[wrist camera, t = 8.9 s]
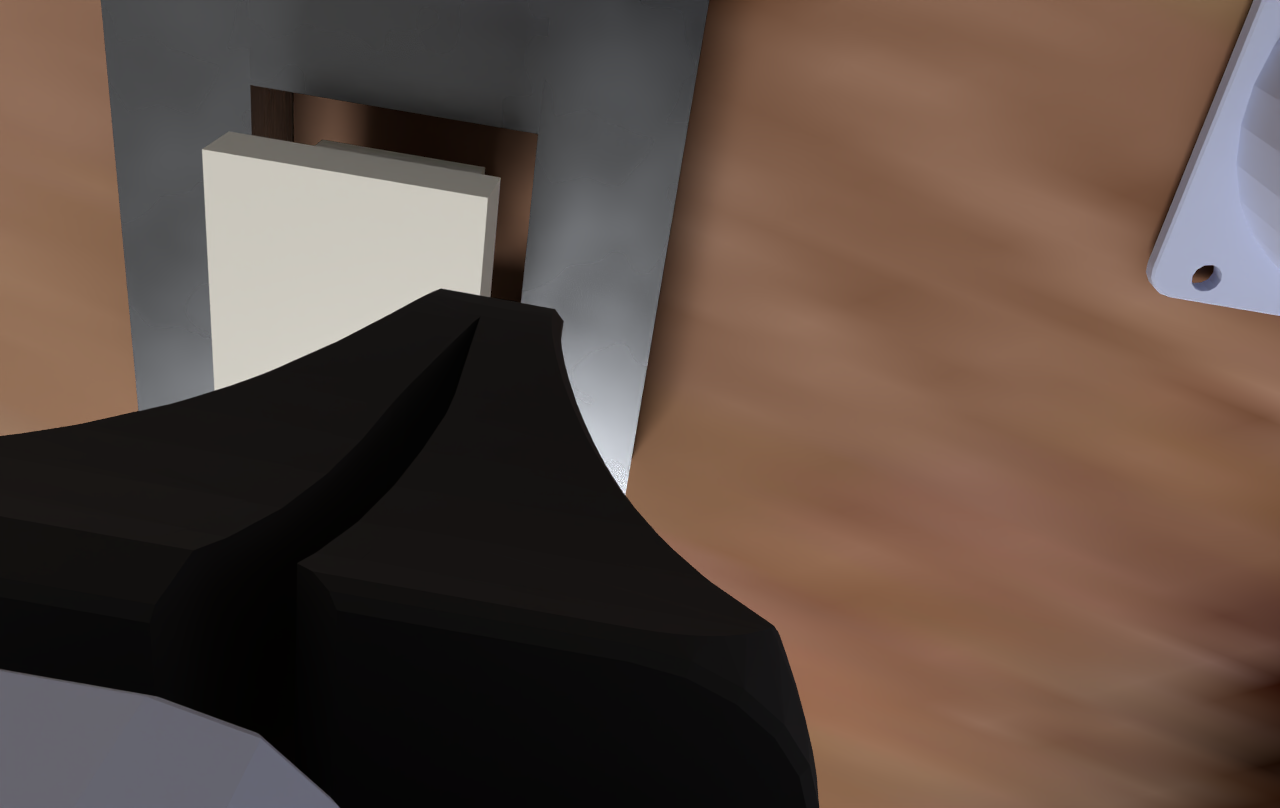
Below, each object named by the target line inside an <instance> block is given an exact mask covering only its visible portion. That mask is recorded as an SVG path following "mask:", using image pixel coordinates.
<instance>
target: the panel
mask: <svg viewBox="0 0 1280 808" xmlns="http://www.w3.org/2000/svg"><path fill="white" fill-rule="evenodd" d="M708 5H709V0H101V7H102V18H103V29H104V40H105V51H106V62H107V73H108V84H109V94H110V105H111V116H112V127H113V138H114V149H115V160H116V171H117V181H118V192H119V203H120V214H121V225H122V236H123V247H124V258H125V268H126V279H127V290H128V301H129V312H130V323H131V334H132V345H133V355H134V366H135V377H136V388H137V399H138V410H139V411H141V410H145V409H150V408H154V407H159V406H163V405H168V404H171V403H175V402H179V401H182V400H186V399H189V398H193V397H196V396H199V395H202V394H205V393H208V392H212V391H214V372H213V352H212V333H211V314H210V295H209V275H208V256H207V237H206V217H205V198H204V179H203V159H202V149H203V148H205V147H206V146H208V145H209V144H211V143H212V142H214V141H215V140H217V139H218V138H220V137H221V136H223V135H224V134H226V133H227V132H229V131H230V132H236V133H242V134H248V135H253V136H259V137H265V138H271V139H277V140H283V141H289V142H293V99H292V92H294V93H300V94H306V95H312V96H318V97H324V98H330V99H335V100H341V101H347V102H353V103H359V104H365V105H371V106H377V107H383V108H388V109H394V110H400V111H406V112H412V113H418V114H424V115H430V116H435V117H441V118H447V119H453V120H459V121H465V122H471V123H477V124H483V125H488V126H494V127H500V128H506V129H512V130H518V131H524V132H530V133H536V134H538V141H537V151H536V160H535V170H534V180H533V190H532V200H531V210H530V219H529V229H528V239H527V249H526V259H525V268H524V278H523V288H522V298H521V303H525V304H530V305H536V306H541V307H547V308H552V309H555V310H556V311H557V312H558V314H559V315H560V317H561V318H562V319H563V321H564V324H563V330H562V337H561V344H562V351H563V356H564V362H565V366H566V370H567V374H568V377H569V380H570V383H571V387H572V390H573V393H574V396H575V399H576V402H577V405H578V407H579V410H580V412H581V415H582V417H583V420H584V422H585V424H586V426H587V429H588V431H589V433H590V435H591V437H592V440H593V442H594V444H595V446H596V448H597V450H598V451H599V453H600V455H601V457H602V459H603V461H604V462H605V464H606V466H607V468H608V469H609V471H610V473H611V474H612V476H613V477H614V479H615V480H616V482H617V484H618V485H619V487H620V488H621V490H622V491H623V493H624V494H626V488H627V482H628V477H629V471H630V465H631V459H632V453H633V447H634V442H635V436H636V430H637V424H638V418H639V412H640V406H641V400H642V394H643V388H644V383H645V377H646V371H647V365H648V359H649V353H650V347H651V341H652V335H653V330H654V324H655V318H656V312H657V306H658V300H659V294H660V288H661V282H662V276H663V271H664V265H665V259H666V253H667V247H668V241H669V235H670V229H671V223H672V217H673V212H674V206H675V200H676V194H677V188H678V182H679V176H680V170H681V164H682V159H683V153H684V147H685V141H686V135H687V129H688V123H689V117H690V111H691V105H692V100H693V94H694V88H695V82H696V76H697V70H698V64H699V58H700V52H701V46H702V41H703V35H704V29H705V23H706V17H707V11H708Z"/></svg>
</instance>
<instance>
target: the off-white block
mask: <svg viewBox="0 0 1280 808" xmlns="http://www.w3.org/2000/svg"><path fill="white" fill-rule="evenodd" d="M202 159H203V179H204V198H205V217H206V237H207V256H208V275H209V295H210V314H211V333H212V352H213V372H214V391H215V390H218V389H221V388H224V387H228V386H231V385H234V384H236V383H239V382H242V381H245V380H248V379H250V378H253V377H256V376H258V375H261V374H264V373H266V372H269V371H271V370H274V369H276V368H278V367H280V366H283V365H285V364H287V363H289V362H292V361H294V360H296V359H298V358H301V357H303V356H305V355H307V354H310V353H312V352H314V351H317V350H319V349H321V348H323V347H326V346H328V345H330V344H332V343H335V342H337V341H339V340H341V339H343V338H345V337H347V336H349V335H351V334H352V333H354V332H356V331H358V330H360V329H362V328H364V327H366V326H368V325H370V324H372V323H374V322H376V321H378V320H380V319H381V318H383V317H385V316H387V315H389V314H391V313H393V312H395V311H396V310H398V309H400V308H402V307H404V306H406V305H408V304H409V303H411V302H413V301H415V300H417V299H419V298H421V297H423V296H425V295H427V294H429V293H431V292H433V291H436V290H438V289H441V288H442V289H447V290H453V291H458V292H464V293H469V294H475V295H480V296H486V297H490V296H491V284H492V273H493V261H494V250H495V238H496V226H497V215H498V203H499V192H500V180H501V178H500V177H495V176H489V175H485V167H481V166H475V165H469V164H463V163H457V162H451V161H445V160H439V159H434V158H428V157H422V156H416V155H410V154H404V153H398V152H392V151H386V150H381V149H375V148H369V147H363V146H357V145H351V144H345V143H339V142H334V141H328V140H321V141H320V142H319V143H318V144H316V145H315V146H312V145H306V144H300V143H295V142H289V141H283V140H277V139H271V138H265V137H259V136H253V135H248V134H242V133H236V132H230V131H229V132H227V133H226V134H224V135H223V136H221V137H220V138H218V139H217V140H215V141H214V142H212V143H211V144H209V145H208V146H206V147H205V148H203V149H202Z"/></svg>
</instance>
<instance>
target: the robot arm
mask: <svg viewBox="0 0 1280 808" xmlns="http://www.w3.org/2000/svg"><path fill="white" fill-rule="evenodd" d="M1205 265H1214V270H1213V273H1212V275H1211V276H1210V277H1209V279H1207V280H1205V281H1203V282H1201V283H1192V276H1193V274H1194V273H1195V272H1196V270H1197V269H1199V268H1201V267H1203V266H1205ZM1146 273H1147V277H1148V280H1149V282H1150V283H1151V284H1152V285H1153V287H1154V288H1155V289H1156V290H1157V291H1158V292H1159V293H1160V294H1163V295H1165V296H1168V297H1172V298H1178V299H1184V300H1190V301H1196V302H1202V303H1207V304H1213V305H1219V306H1225V307H1231V308H1237V309H1243V310H1249V311H1254V312H1260V313H1266V314H1272V315H1278V316H1280V0H1253V3H1252V5H1251V8H1250V10H1249V13H1248V15H1247V18H1246V20H1245V23H1244V25H1243V28H1242V30H1241V33H1240V35H1239V38H1238V40H1237V43H1236V45H1235V48H1234V50H1233V52H1232V55H1231V57H1230V60H1229V62H1228V65H1227V67H1226V70H1225V72H1224V75H1223V77H1222V80H1221V82H1220V85H1219V87H1218V90H1217V92H1216V95H1215V97H1214V100H1213V102H1212V105H1211V107H1210V109H1209V112H1208V114H1207V117H1206V119H1205V122H1204V124H1203V127H1202V129H1201V132H1200V134H1199V137H1198V139H1197V142H1196V144H1195V147H1194V149H1193V152H1192V154H1191V157H1190V159H1189V162H1188V164H1187V166H1186V169H1185V171H1184V174H1183V176H1182V179H1181V181H1180V184H1179V186H1178V189H1177V191H1176V194H1175V196H1174V199H1173V201H1172V204H1171V206H1170V209H1169V211H1168V214H1167V216H1166V219H1165V221H1164V223H1163V226H1162V228H1161V231H1160V233H1159V236H1158V238H1157V241H1156V243H1155V246H1154V248H1153V251H1152V253H1151V256H1150V258H1149V261H1148V264H1147V270H1146ZM563 324H564V321H563V319H562V318H561V317H560V315H559V314H558V312H557V311H556V310H555V309H552V308H547V307H541V306H536V305H530V304H525V303H519V302H514V301H508V300H503V299H497V298H491V297H486V296H480V295H475V294H469V293H464V292H458V291H453V290H447V289H442V288H441V289H438V290H436V291H433V292H431V293H429V294H427V295H425V296H423V297H421V298H419V299H417V300H415V301H413V302H411V303H409V304H408V305H406V306H404V307H402V308H400V309H398V310H396V311H395V312H393V313H391V314H389V315H387V316H385V317H383V318H381V319H380V320H378V321H376V322H374V323H372V324H370V325H368V326H366V327H364V328H362V329H360V330H358V331H356V332H354V333H352V334H351V335H349V336H347V337H345V338H343V339H341V340H339V341H337V342H335V343H332V344H330V345H328V346H326V347H323V348H321V349H319V350H317V351H314V352H312V353H310V354H307V355H305V356H303V357H301V358H298V359H296V360H294V361H292V362H289V363H287V364H285V365H283V366H280V367H278V368H276V369H274V370H271V371H269V372H266V373H264V374H261V375H258V376H256V377H253V378H250V379H248V380H245V381H242V382H239V383H236V384H234V385H231V386H228V387H224V388H221V389H218V390H215V391H212V392H208V393H205V394H202V395H199V396H196V397H193V398H189V399H186V400H182V401H179V402H175V403H171V404H168V405H163V406H159V407H154V408H150V409H145V410H141V411H137V412H132V413H128V414H123V415H119V416H114V417H110V418H105V419H101V420H96V421H92V422H88V423H83V424H78V425H72V426H66V427H60V428H54V429H47V430H41V431H34V432H28V433H22V434H14V435H6V436H0V808H819V801H818V788H817V775H816V769H815V763H814V756H813V751H812V746H811V742H810V738H809V733H808V729H807V725H806V720H805V716H804V713H803V709H802V705H801V701H800V698H799V694H798V690H797V686H796V683H795V680H794V677H793V674H792V671H791V668H790V665H789V662H788V658H787V655H786V652H785V649H784V647H783V644H782V641H781V638H780V635H779V633H778V631H777V630H776V628H775V627H774V626H773V625H772V624H771V623H769V622H768V621H766V620H765V619H763V618H762V617H760V616H759V615H758V614H756V613H755V612H753V611H752V610H750V609H749V608H747V607H746V606H745V605H743V604H742V603H740V602H739V601H737V600H736V599H734V598H733V597H732V596H730V595H729V594H727V593H726V592H724V591H723V590H721V589H720V588H719V587H717V586H716V585H714V584H713V583H711V582H710V581H709V580H708V579H706V578H705V577H704V576H703V575H701V574H700V573H699V572H698V571H697V570H696V569H695V568H694V567H692V566H691V565H690V564H689V563H688V562H687V561H686V560H684V559H683V558H682V557H681V556H680V555H679V554H678V553H676V552H675V551H674V550H673V549H672V548H671V547H670V546H669V545H668V544H667V543H666V542H665V541H664V540H663V539H662V538H661V537H660V536H659V535H658V534H657V533H656V532H655V531H654V529H653V528H652V527H651V526H650V525H649V524H648V523H647V521H646V520H645V519H644V518H643V517H642V516H641V515H640V513H639V512H638V511H637V510H636V509H635V508H634V506H633V505H632V504H631V502H630V501H629V500H628V498H627V497H626V495H625V494H624V493H623V491H622V490H621V488H620V487H619V485H618V484H617V482H616V480H615V479H614V477H613V476H612V474H611V473H610V471H609V469H608V468H607V466H606V464H605V462H604V461H603V459H602V457H601V455H600V453H599V451H598V450H597V448H596V446H595V444H594V442H593V440H592V437H591V435H590V433H589V431H588V429H587V426H586V424H585V422H584V420H583V417H582V415H581V412H580V410H579V407H578V405H577V402H576V399H575V396H574V393H573V390H572V387H571V383H570V380H569V377H568V374H567V370H566V366H565V362H564V356H563V351H562V344H561V337H562V330H563Z"/></svg>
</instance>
